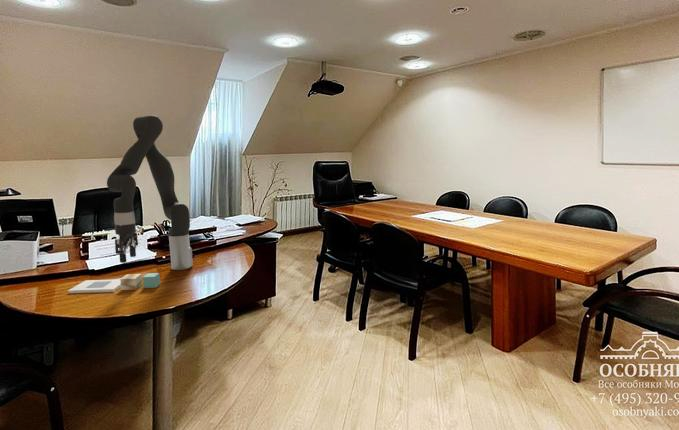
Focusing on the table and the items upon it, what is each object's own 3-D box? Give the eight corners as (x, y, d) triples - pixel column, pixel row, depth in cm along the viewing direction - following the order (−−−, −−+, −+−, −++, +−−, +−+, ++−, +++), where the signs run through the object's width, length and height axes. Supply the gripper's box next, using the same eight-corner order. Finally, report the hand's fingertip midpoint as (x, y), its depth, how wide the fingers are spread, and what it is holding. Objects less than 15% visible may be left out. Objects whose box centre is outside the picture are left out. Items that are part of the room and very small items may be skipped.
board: (127, 281, 163) (127, 278, 163) (114, 291, 152) (113, 288, 151) (85, 282, 162) (85, 280, 162) (68, 293, 150) (68, 290, 150)
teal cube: (160, 283, 161) (159, 272, 161) (155, 287, 157) (154, 276, 156) (148, 284, 161) (147, 273, 160) (143, 288, 156) (142, 277, 155)
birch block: (142, 284, 160) (141, 273, 159) (136, 289, 154) (135, 278, 154) (128, 285, 160) (126, 274, 159) (121, 290, 154) (120, 279, 153)
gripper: (124, 219, 159) (127, 255, 162) (106, 225, 145) (110, 264, 148) (142, 219, 159) (144, 254, 162) (125, 225, 145) (129, 264, 148)
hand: (128, 259), depth 155 cm, fingers open, 8 cm apart
